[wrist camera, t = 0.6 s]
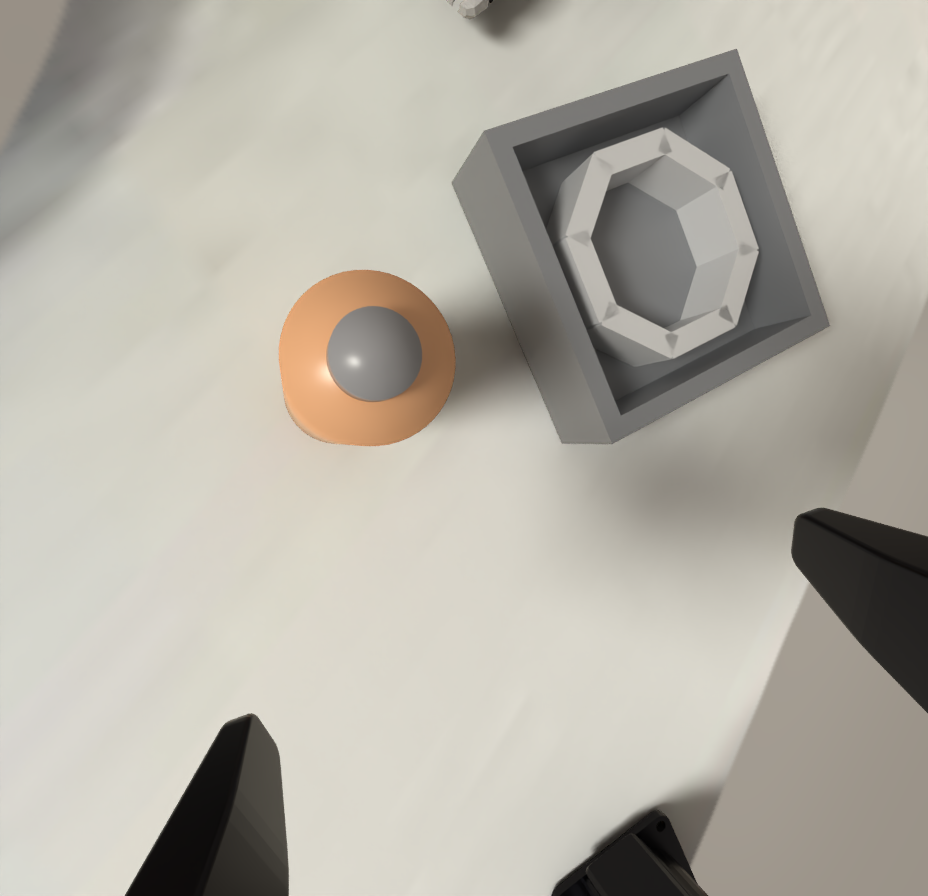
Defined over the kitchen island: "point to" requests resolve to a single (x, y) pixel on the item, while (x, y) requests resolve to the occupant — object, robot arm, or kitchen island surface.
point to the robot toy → (471, 7)
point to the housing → (641, 246)
